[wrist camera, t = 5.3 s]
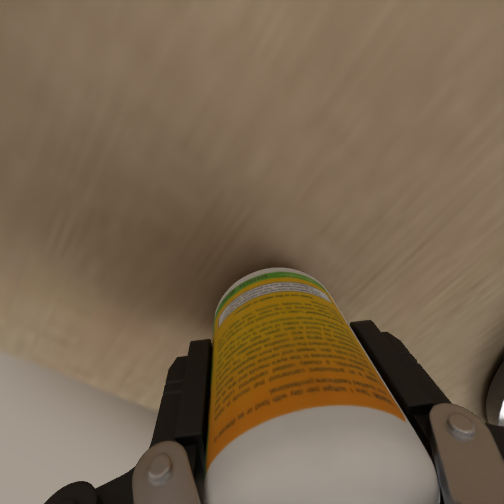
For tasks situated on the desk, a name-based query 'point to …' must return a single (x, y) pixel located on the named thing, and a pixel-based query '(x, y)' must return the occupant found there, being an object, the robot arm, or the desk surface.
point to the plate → (496, 399)
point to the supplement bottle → (303, 405)
